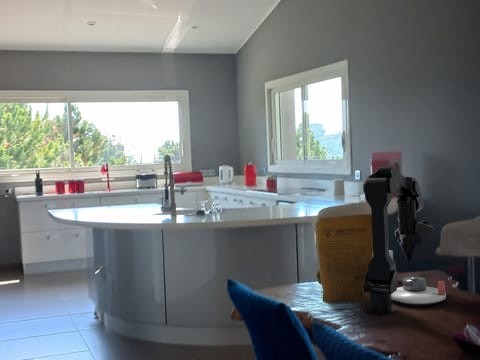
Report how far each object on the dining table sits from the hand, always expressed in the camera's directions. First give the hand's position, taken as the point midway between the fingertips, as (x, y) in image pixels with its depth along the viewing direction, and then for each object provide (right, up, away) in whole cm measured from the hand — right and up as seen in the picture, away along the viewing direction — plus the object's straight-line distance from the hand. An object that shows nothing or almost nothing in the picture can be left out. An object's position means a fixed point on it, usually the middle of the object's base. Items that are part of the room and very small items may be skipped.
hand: (409, 261), depth 189 cm
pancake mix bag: (-22, -12, -9) cm, 27 cm away
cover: (-1, -8, -8) cm, 11 cm away
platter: (-1, -9, -12) cm, 16 cm away
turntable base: (-1, -11, -12) cm, 16 cm away
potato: (-24, -11, +8) cm, 27 cm away
